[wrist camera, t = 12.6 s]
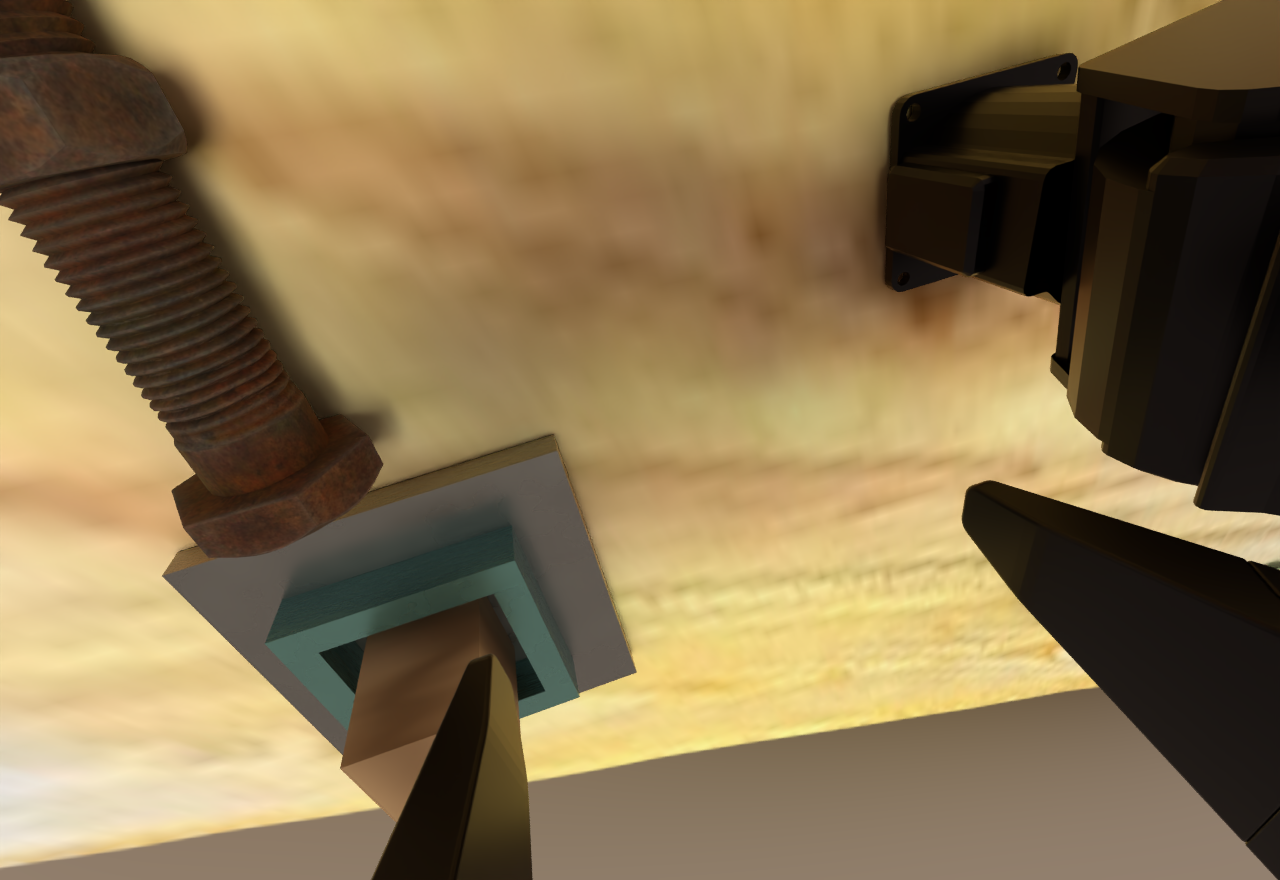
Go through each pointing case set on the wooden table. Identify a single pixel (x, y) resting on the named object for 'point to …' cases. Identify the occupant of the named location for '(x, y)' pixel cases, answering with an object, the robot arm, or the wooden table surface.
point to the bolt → (162, 289)
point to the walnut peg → (415, 694)
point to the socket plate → (423, 584)
